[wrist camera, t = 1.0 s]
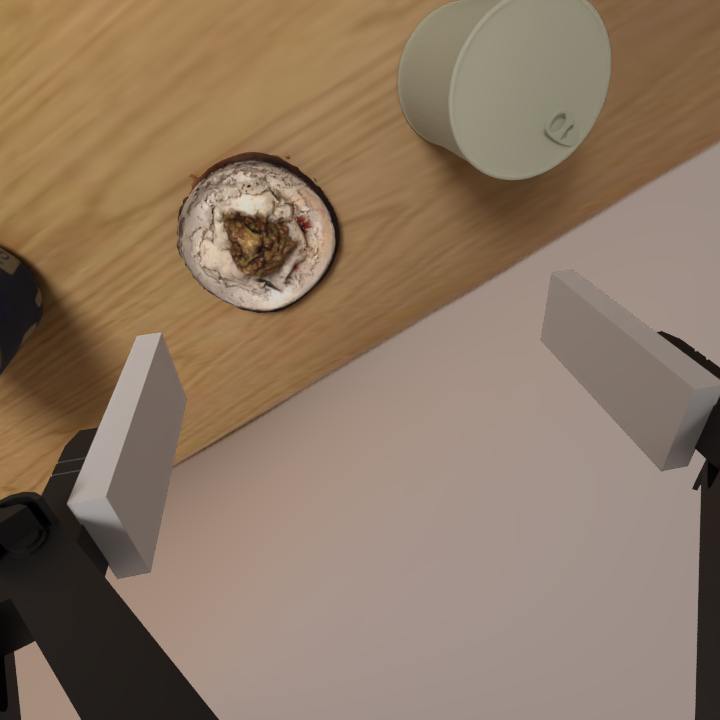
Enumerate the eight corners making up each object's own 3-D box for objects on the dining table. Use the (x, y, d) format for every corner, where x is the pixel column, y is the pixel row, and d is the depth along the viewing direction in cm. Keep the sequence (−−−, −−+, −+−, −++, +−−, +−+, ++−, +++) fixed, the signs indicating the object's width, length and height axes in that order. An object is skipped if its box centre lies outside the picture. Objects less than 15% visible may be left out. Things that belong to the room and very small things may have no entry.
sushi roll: (383, 248, 42) (393, 266, 38) (250, 341, 45) (249, 366, 41) (274, 88, 34) (276, 93, 30) (121, 214, 37) (107, 232, 33)
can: (459, 170, 39) (527, 214, 29) (371, 94, 35) (415, 115, 25) (542, 63, 35) (651, 72, 26) (456, -36, 31) (545, -71, 21)
